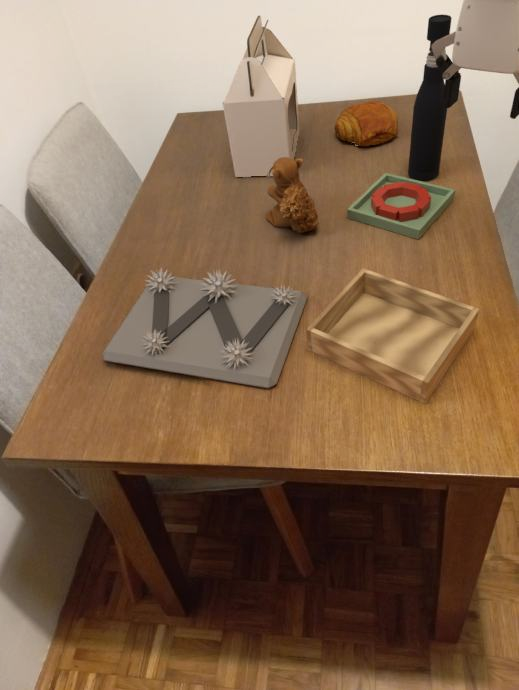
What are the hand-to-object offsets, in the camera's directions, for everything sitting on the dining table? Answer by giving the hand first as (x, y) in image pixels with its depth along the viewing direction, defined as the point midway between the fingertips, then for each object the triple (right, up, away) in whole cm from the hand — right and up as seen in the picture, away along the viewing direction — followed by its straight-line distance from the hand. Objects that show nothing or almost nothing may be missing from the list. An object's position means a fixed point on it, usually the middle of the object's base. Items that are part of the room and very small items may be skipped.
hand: (482, 109), depth 77 cm
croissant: (-6, +17, +52) cm, 55 cm away
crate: (-13, -35, +5) cm, 37 cm away
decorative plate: (-42, -33, +12) cm, 54 cm away
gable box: (-31, +12, +52) cm, 61 cm away
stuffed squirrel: (-25, -10, +30) cm, 41 cm away
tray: (-4, -7, +29) cm, 30 cm away
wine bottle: (+3, +2, +37) cm, 37 cm away
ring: (-5, -7, +29) cm, 30 cm away
